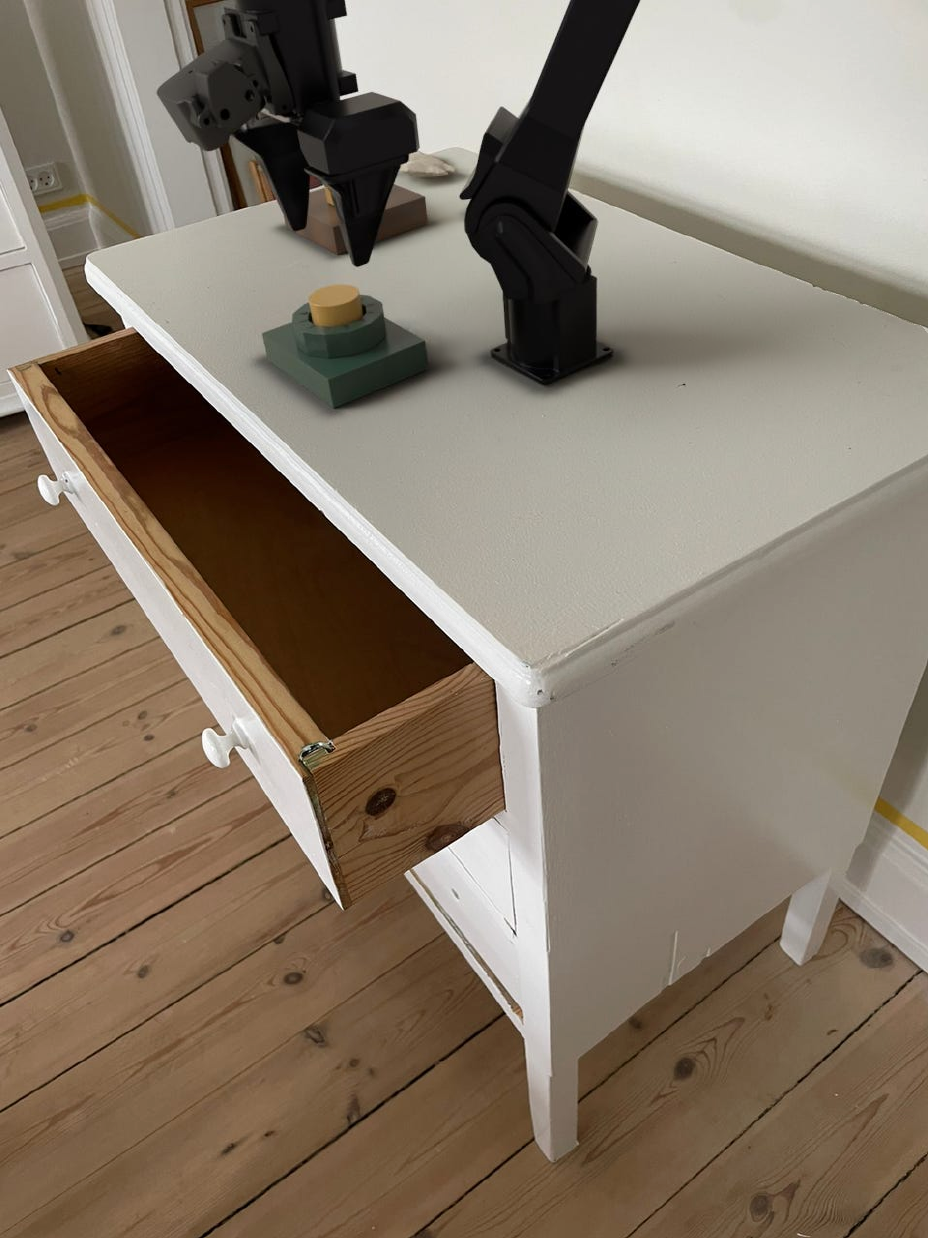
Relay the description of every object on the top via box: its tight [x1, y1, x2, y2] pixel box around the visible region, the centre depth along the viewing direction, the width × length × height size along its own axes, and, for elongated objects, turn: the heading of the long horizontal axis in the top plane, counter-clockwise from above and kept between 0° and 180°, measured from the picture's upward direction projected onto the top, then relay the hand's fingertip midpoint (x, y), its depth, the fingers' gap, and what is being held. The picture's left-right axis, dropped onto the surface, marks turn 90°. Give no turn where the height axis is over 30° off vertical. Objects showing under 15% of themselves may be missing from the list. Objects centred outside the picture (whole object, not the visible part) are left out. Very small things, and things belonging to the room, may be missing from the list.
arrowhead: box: [399, 150, 459, 178], centre depth 103 cm, size 7×2×10 cm
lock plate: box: [283, 183, 429, 255], centre depth 92 cm, size 10×10×3 cm
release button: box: [308, 284, 363, 327], centre depth 69 cm, size 4×4×2 cm
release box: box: [261, 294, 429, 409], centre depth 70 cm, size 10×8×4 cm
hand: (328, 246), depth 67 cm, fingers open, 9 cm apart
